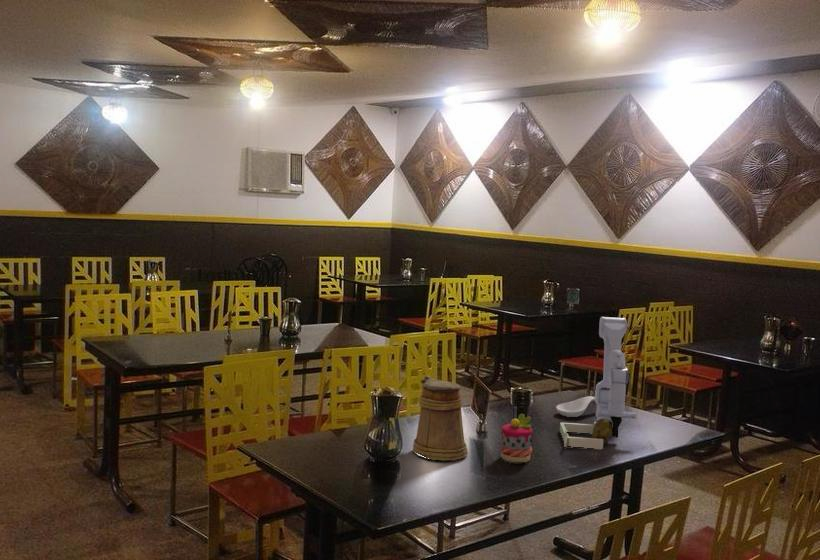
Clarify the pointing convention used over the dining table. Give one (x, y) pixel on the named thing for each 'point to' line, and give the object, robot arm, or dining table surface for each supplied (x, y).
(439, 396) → the tankard
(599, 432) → the potato
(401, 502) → the dining table surface
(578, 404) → the spoon rest
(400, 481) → the dining table surface
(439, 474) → the dining table surface
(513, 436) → the cake
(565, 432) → the flag
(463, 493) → the dining table surface
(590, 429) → the corral
